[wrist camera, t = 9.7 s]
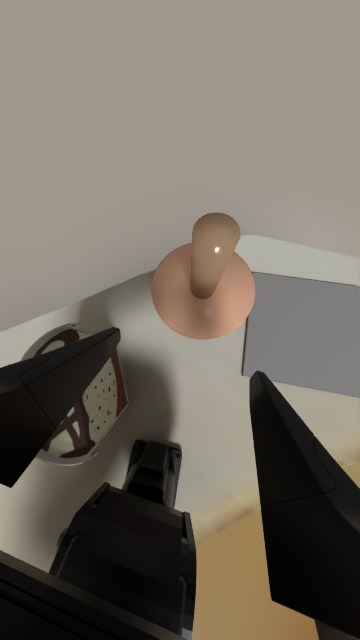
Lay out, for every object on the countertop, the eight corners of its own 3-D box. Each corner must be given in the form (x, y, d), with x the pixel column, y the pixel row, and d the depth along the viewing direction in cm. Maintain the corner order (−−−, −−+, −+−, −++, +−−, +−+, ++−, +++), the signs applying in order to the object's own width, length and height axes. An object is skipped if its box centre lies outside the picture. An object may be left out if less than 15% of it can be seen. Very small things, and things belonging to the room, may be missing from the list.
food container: (77, 342, 24) (-2, 337, 14) (114, 331, 24) (63, 318, 14) (89, 428, 21) (4, 495, 11) (131, 415, 21) (83, 471, 11)
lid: (270, 314, 19) (361, 275, 9) (176, 356, 18) (164, 363, 9) (223, 233, 22) (254, 135, 12) (139, 268, 21) (97, 197, 11)
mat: (362, 398, 20) (366, 399, 20) (242, 375, 22) (243, 375, 21) (357, 287, 23) (360, 286, 23) (251, 273, 24) (252, 272, 24)
